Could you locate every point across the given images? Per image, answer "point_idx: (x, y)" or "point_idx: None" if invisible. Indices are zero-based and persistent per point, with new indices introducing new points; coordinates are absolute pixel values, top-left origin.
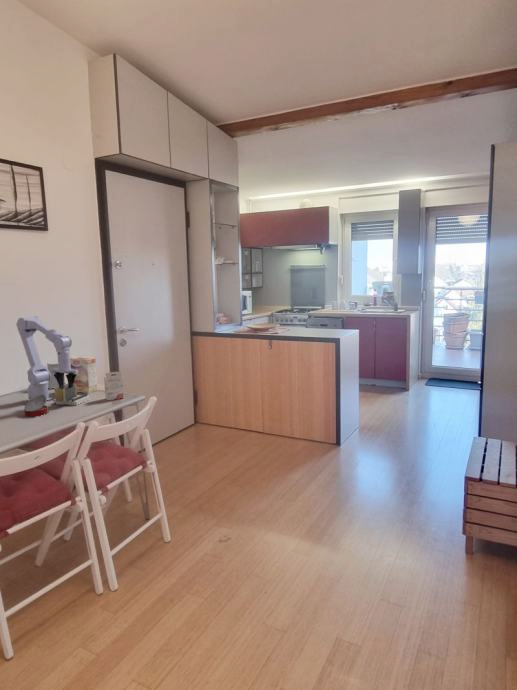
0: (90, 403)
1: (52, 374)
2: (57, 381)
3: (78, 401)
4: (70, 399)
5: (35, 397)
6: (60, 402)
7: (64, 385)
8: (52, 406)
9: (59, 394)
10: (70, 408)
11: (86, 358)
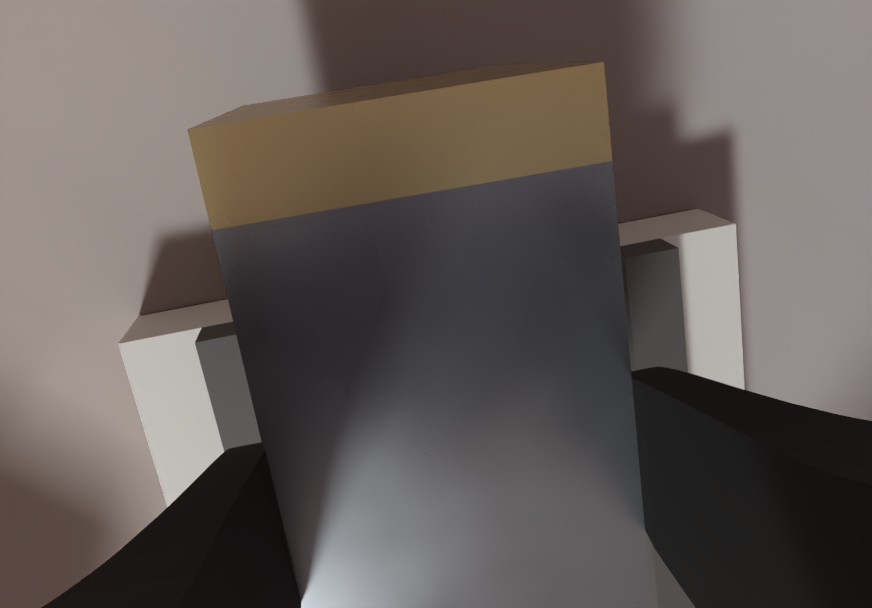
0: (21, 532)
1: None
2: (816, 410)
3: (139, 398)
4: None
5: None
6: None
7: (581, 516)
8: (564, 53)
9: (370, 92)
10: (62, 100)
11: None
